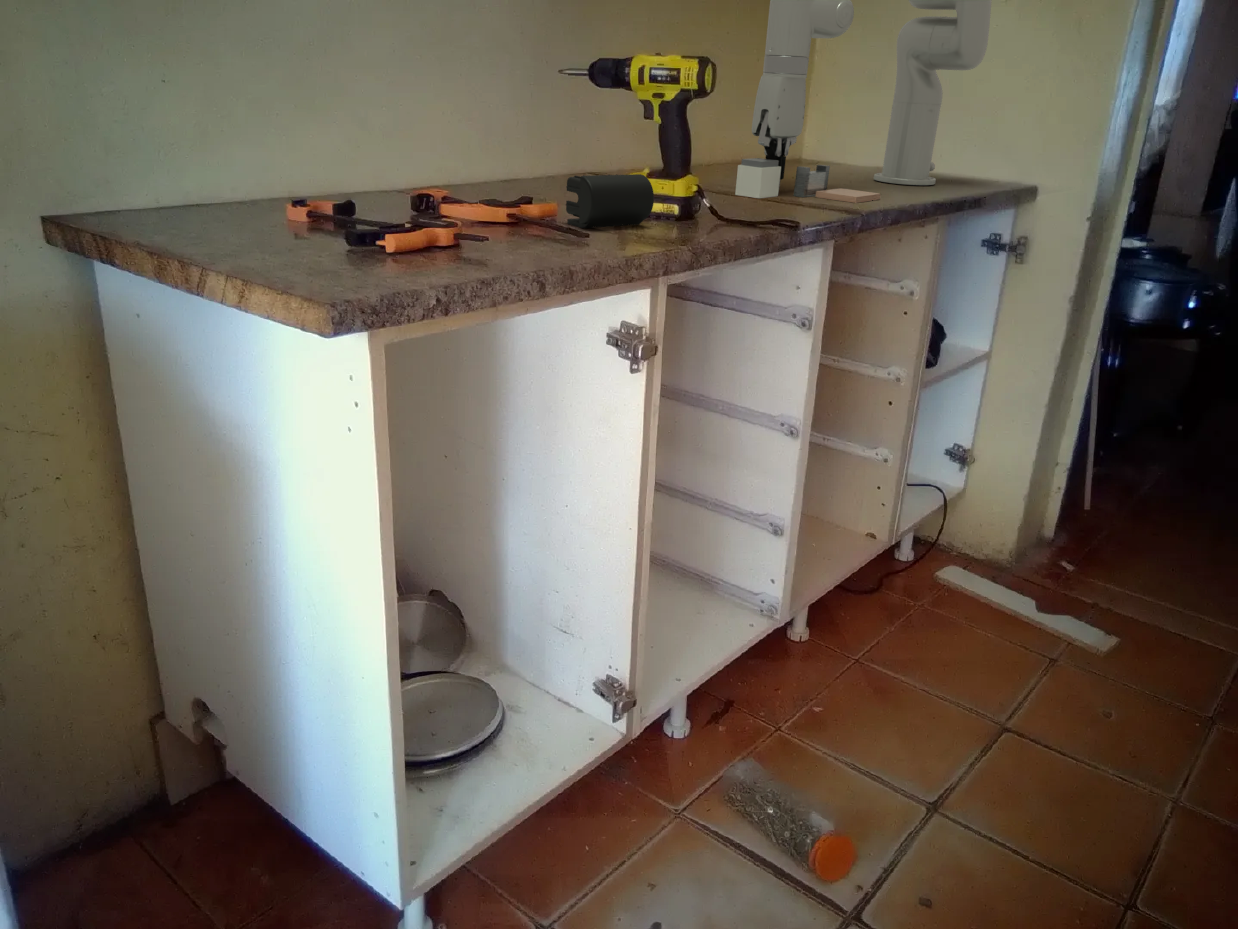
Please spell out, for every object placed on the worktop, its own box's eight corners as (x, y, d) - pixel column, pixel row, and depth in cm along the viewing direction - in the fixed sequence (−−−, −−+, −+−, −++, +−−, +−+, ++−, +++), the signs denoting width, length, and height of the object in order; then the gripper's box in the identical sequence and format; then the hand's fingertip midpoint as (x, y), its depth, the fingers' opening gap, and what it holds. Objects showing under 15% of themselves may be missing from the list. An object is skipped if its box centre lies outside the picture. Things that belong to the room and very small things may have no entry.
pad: (840, 193, 175) (841, 188, 174) (879, 199, 170) (880, 193, 170) (815, 196, 168) (816, 191, 168) (855, 202, 164) (856, 196, 163)
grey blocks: (770, 186, 180) (773, 158, 178) (826, 194, 173) (829, 165, 171) (746, 188, 174) (749, 160, 172) (803, 197, 167) (806, 167, 165)
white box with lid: (754, 192, 170) (757, 157, 168) (777, 195, 167) (781, 160, 165) (735, 194, 166) (738, 158, 164) (759, 198, 163) (762, 161, 161)
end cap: (591, 232, 123) (593, 178, 120) (562, 223, 128) (564, 171, 125) (653, 228, 128) (656, 176, 126) (623, 220, 133) (625, 170, 131)
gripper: (790, 68, 169) (778, 174, 177) (742, 65, 159) (732, 178, 166) (826, 70, 165) (813, 179, 172) (780, 67, 154) (768, 183, 162)
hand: (773, 178), depth 169 cm, fingers closed
